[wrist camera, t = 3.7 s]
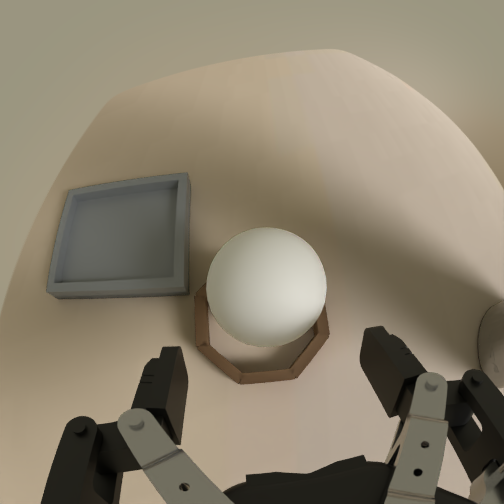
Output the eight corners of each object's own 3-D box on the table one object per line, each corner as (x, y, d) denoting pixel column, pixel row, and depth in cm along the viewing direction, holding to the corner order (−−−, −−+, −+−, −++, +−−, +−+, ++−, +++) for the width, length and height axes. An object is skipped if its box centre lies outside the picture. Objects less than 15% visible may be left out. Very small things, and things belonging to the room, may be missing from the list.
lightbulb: (256, 268, 24) (261, 181, 14) (315, 316, 22) (366, 256, 12) (204, 323, 22) (167, 268, 12) (265, 376, 20) (280, 368, 10)
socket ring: (311, 259, 24) (315, 251, 23) (329, 373, 20) (334, 373, 19) (197, 267, 24) (194, 260, 23) (201, 386, 20) (198, 386, 18)
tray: (190, 185, 28) (187, 172, 26) (189, 294, 23) (183, 286, 21) (77, 200, 27) (69, 190, 25) (57, 298, 22) (46, 291, 20)
